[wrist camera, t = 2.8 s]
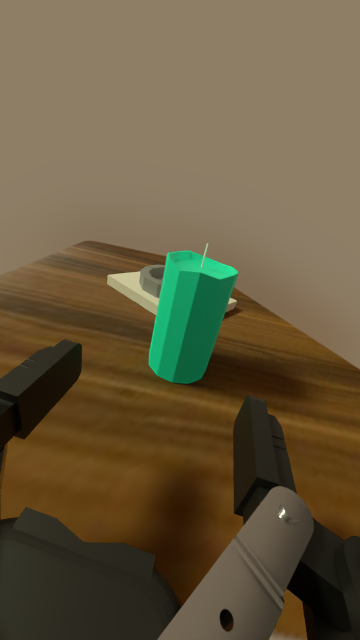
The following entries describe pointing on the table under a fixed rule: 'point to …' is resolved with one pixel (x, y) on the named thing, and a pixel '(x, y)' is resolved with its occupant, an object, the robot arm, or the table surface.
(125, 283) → the jig plate
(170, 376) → the candle
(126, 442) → the table surface
